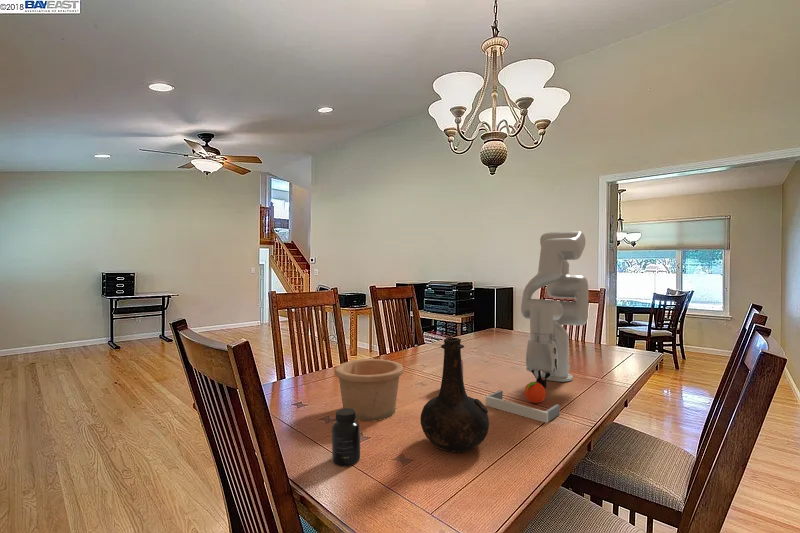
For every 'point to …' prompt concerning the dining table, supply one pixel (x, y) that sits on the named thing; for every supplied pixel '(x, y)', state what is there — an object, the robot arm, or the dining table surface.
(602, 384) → the dining table surface
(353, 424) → the supplement bottle
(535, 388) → the clementine
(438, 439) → the glass bottle
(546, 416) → the grey u-shaped bracket
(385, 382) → the pottery
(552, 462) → the dining table surface
